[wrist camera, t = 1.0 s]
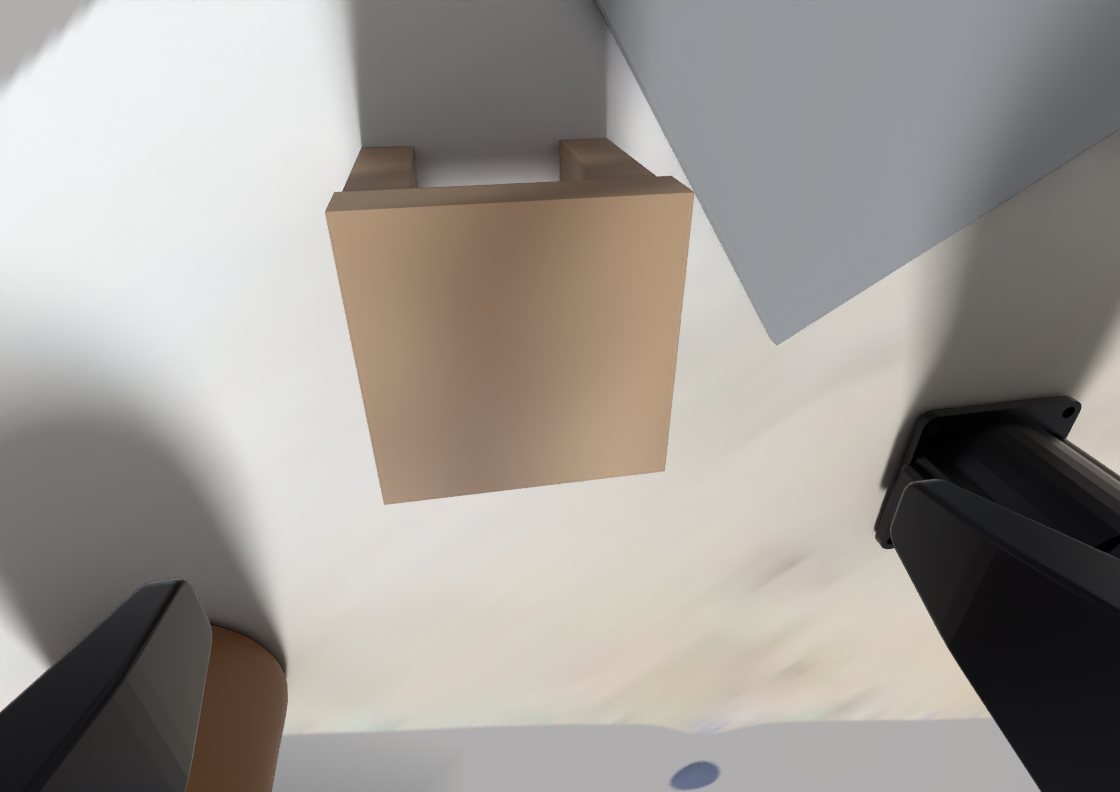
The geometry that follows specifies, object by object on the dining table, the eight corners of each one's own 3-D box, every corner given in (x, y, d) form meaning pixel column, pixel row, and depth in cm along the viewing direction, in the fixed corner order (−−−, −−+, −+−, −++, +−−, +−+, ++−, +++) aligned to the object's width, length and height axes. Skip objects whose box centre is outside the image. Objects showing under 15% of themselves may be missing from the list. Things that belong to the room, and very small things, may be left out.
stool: (606, 129, 16) (694, 192, 11) (599, 343, 19) (664, 471, 14) (360, 139, 15) (324, 211, 10) (396, 360, 18) (384, 505, 13)
